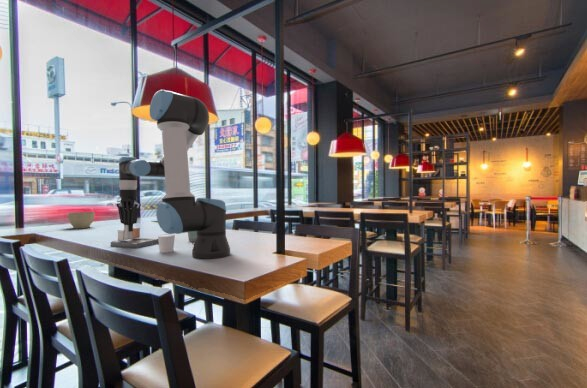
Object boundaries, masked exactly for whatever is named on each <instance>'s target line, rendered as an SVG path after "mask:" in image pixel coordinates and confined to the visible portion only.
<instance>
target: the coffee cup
mask: <svg viewBox="0 0 587 388" xmlns="http://www.w3.org/2000/svg"><path fill="white" fill-rule="evenodd" d="M187 237H188V242H190V243H195V240H196V237H197V231H194V232H187Z"/></svg>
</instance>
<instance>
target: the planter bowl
mask: <svg viewBox="0 0 587 388" xmlns="http://www.w3.org/2000/svg"><path fill="white" fill-rule="evenodd" d="M95 214H96V212H95V211H78V212H67V213H66V216H67V220H68V222H69V224H70V226H72V227H73V229H85V228H86V229H88V228H90V227H91V225H92V223H93V222H94V220H95Z"/></svg>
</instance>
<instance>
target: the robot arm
mask: <svg viewBox="0 0 587 388" xmlns="http://www.w3.org/2000/svg"><path fill="white" fill-rule="evenodd" d="M149 116H150V119H151V120H153V121H155V122H156V127H157V129H159V131H161V135H162V139H161V140H162V151H163V153H162V154H163V155H162V157H161V159H160V160H159V161H157V160H145V159H139V158H138V159H137V158H136V157H135V156H120V157H119V160H118V173H119V174H118V175H119V177H118V178H119V179H118V180H119V182H118V188H119V191H118V192H119V194H118V195H119V198H120V201H119V203H116V207H117V209H118V215H119V221H120V224H122V225H124V228H123V229H124V231H125V239H129V238H132V231H133V228H134V225H135V224H137V221H138V218H139V217H138V216H139V211H140V208H141V206H142V205H141V203H138V202H137V197H138V190H137V188H138V177H149V178H151V177H152V178H164V181H165V195H164V196H162V198H161V201H162V202H159V204H158V205H157V207H156V212H155V214H156V220H157V221H156V222H157V224H158V226H159V228H160V229H161V230H162V231H163V232H164V233H166V234H171V235H175V234H176V235H179V234H185V233H188V232H194V231H197V237H196V240H195V242H194V244H193V248H192V252H191V253H192V254H191V255H192V257H193V258H195V259H206V260H207V259H221V258H224V257H228V256H230V255H231V247H230V244H229V241H228V238H227V234H226V233H227V231H226V230H227V228H226V227H227V223H226V222H227V220H226V218H227V216H226V215H227V214H226V213H227V208H226V201H224V200H222V199H217V198H216V199H215V198H208V197H207V198H206V197H205V198H204V197H197V198H196V196H195V195H194V194H193V193H192V192H191V183H190V181H191V180H190V171H189V157H188V156H189V155H188V151H189V150H190V148H191V146H192V145H193V144H194V142H195V141H196V140H197V139H198V137H199V136H202V135H204V133H205V131H206V130H207V128H208V126H209V123H210V122H209V121H210V113H209V110H208V107H207V106H206V105H205V102H203V101H202V100H200V99H199V98H197V97H194V96H190V95H189V96H188V95H186V94H181V93H179V92H178V93H177V92H174V91H172V90H165V89H160V90H158V91H156V92H155V93H154V95H153V96H152V99H151V102H150V105H149Z"/></svg>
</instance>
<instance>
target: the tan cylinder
mask: <svg viewBox="0 0 587 388" xmlns="http://www.w3.org/2000/svg"><path fill="white" fill-rule="evenodd" d="M140 229H141V228H140V227H133V231H132V238H141V235H140V234H141V233H140V232H141V230H140Z"/></svg>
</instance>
